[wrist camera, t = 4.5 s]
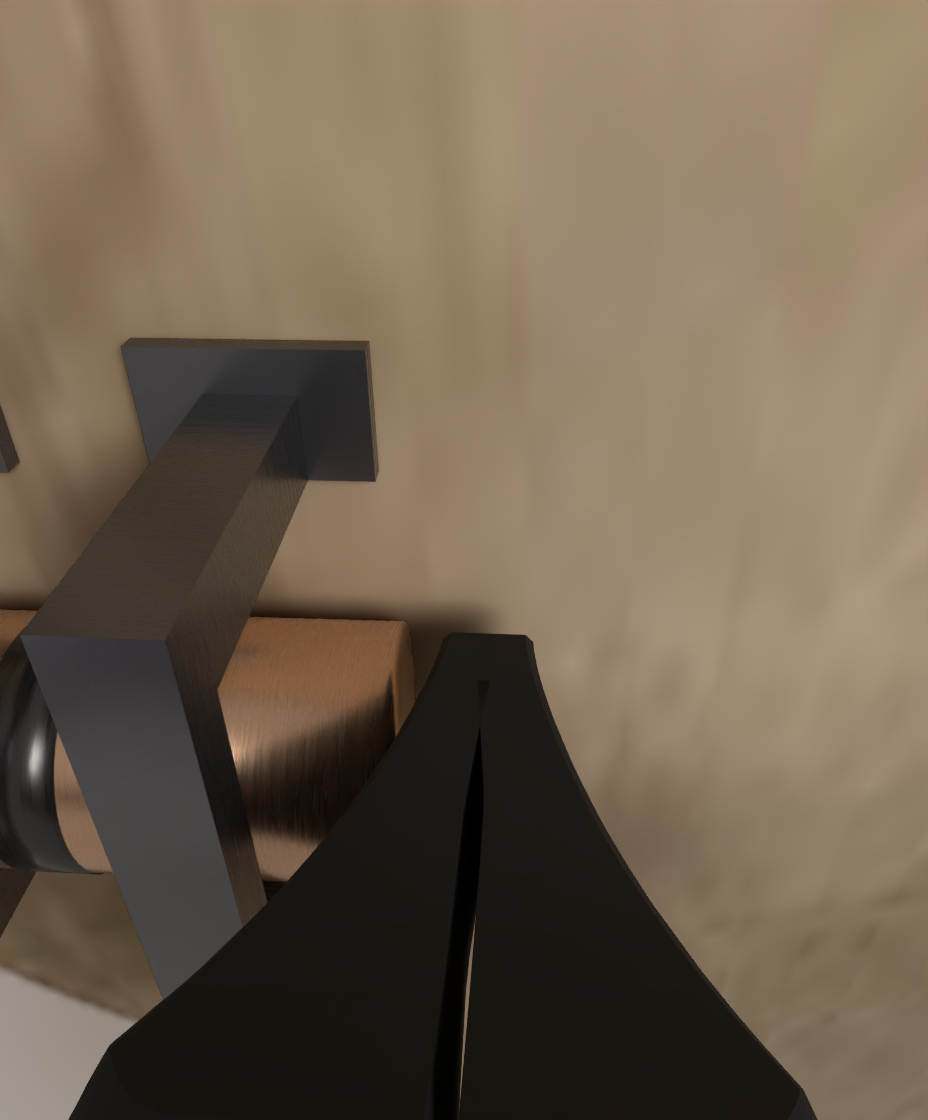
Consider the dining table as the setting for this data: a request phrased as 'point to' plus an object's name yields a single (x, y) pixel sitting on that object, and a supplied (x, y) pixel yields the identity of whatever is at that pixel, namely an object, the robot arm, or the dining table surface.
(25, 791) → the tube
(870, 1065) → the dining table surface
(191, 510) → the dark grey support bracket
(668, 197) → the dining table surface
